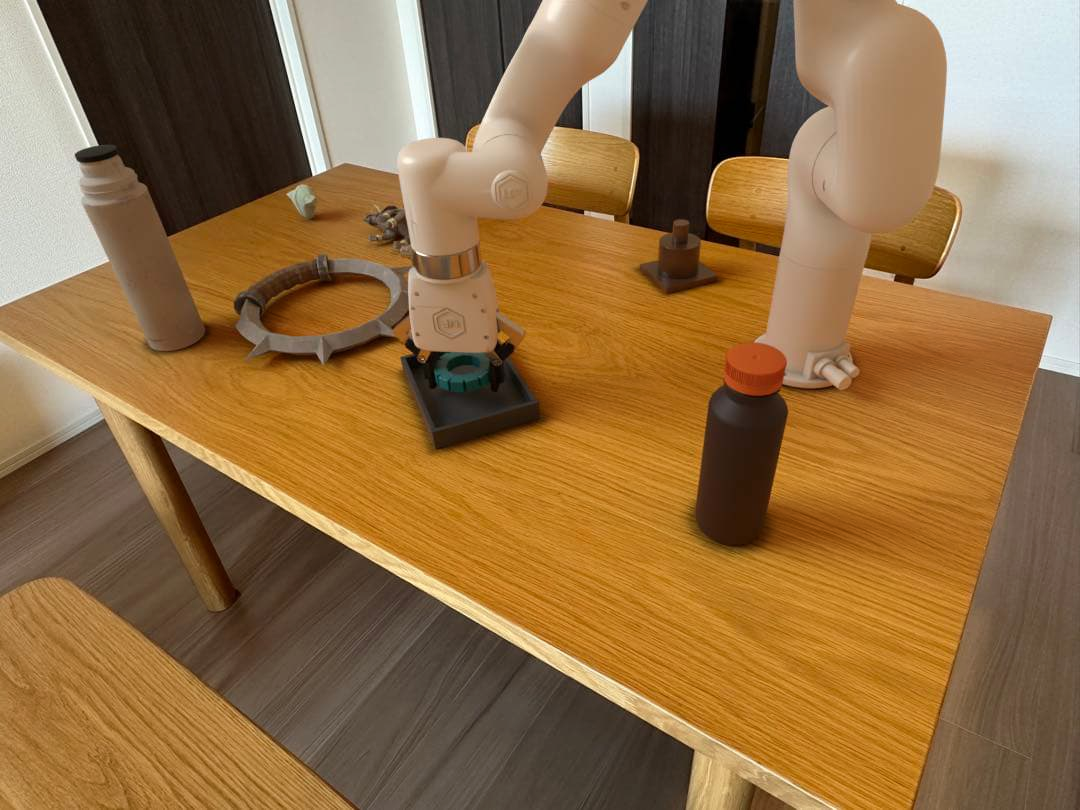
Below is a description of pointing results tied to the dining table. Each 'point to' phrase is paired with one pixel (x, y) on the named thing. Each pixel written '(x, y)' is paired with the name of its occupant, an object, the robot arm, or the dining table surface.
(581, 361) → the dining table surface
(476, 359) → the ring
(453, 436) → the tray
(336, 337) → the spiked ring
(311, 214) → the pale green irregular chunk
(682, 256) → the ring stand
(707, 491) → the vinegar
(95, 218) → the thermos bottle
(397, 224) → the figurine
